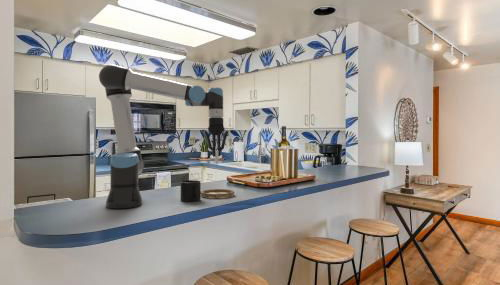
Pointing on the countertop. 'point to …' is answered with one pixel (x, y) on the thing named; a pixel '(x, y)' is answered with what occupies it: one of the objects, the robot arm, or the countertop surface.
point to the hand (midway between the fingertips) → (216, 162)
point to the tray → (217, 193)
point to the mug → (190, 191)
